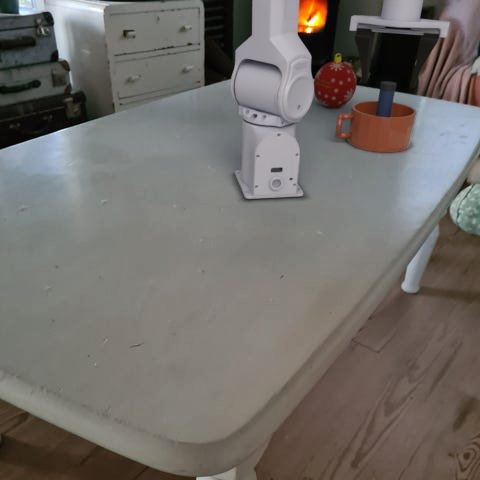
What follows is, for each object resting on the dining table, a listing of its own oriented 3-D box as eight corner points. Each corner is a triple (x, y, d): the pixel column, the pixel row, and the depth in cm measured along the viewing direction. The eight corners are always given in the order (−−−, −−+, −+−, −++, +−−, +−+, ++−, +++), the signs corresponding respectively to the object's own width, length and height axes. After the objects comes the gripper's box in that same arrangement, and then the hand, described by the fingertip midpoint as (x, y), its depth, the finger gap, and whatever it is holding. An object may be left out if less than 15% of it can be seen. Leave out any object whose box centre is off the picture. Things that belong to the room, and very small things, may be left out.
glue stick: (388, 141, 88) (399, 84, 83) (374, 141, 88) (384, 85, 82) (382, 136, 90) (392, 81, 85) (369, 137, 90) (378, 81, 84)
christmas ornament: (303, 104, 109) (308, 51, 103) (336, 100, 112) (342, 48, 106) (327, 114, 103) (333, 59, 97) (361, 109, 106) (369, 55, 100)
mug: (394, 132, 94) (400, 100, 91) (419, 151, 86) (427, 117, 82) (325, 134, 92) (328, 101, 89) (344, 154, 84) (349, 119, 81)
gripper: (459, -15, 77) (436, 83, 85) (361, -20, 81) (348, 75, 89) (457, -12, 71) (433, 93, 79) (352, -17, 75) (340, 83, 83)
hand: (388, 84), depth 84 cm, fingers open, 7 cm apart
